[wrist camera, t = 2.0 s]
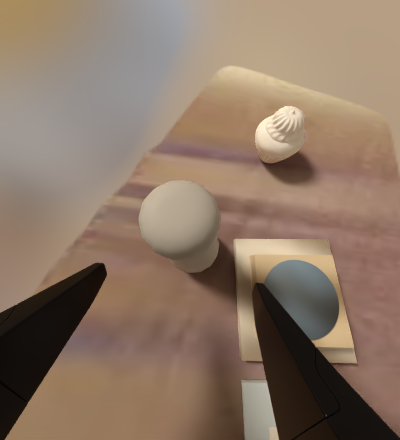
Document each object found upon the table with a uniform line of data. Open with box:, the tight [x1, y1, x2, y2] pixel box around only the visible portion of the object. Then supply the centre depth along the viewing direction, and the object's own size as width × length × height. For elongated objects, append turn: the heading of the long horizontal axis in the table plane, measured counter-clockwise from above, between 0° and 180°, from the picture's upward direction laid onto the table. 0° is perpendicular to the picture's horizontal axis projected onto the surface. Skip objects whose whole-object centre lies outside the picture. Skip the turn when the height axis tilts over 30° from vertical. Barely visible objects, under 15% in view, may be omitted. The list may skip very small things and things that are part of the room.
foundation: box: [234, 239, 357, 363], centre depth 17 cm, size 12×11×3 cm
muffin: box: [255, 106, 305, 164], centre depth 20 cm, size 6×6×7 cm
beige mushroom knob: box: [138, 180, 221, 273], centre depth 14 cm, size 6×6×13 cm
